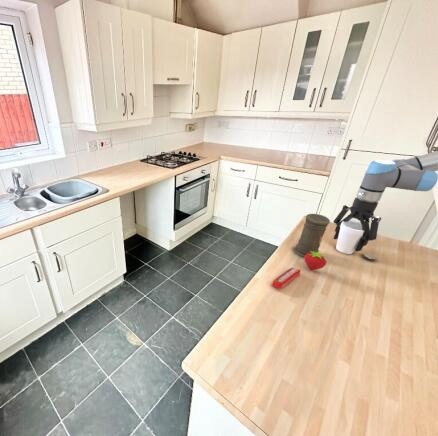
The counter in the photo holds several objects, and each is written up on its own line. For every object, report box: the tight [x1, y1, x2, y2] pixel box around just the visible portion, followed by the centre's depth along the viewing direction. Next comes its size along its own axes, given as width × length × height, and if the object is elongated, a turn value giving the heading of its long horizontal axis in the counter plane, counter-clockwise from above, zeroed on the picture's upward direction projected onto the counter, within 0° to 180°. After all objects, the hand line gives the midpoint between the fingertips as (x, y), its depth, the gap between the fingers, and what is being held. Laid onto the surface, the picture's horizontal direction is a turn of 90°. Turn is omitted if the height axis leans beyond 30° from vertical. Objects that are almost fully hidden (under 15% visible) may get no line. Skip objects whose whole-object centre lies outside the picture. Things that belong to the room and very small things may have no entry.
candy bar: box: [270, 267, 302, 289], centre depth 94 cm, size 16×4×3 cm, turn 124°
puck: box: [362, 253, 377, 262], centre depth 105 cm, size 4×4×1 cm
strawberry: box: [303, 251, 327, 272], centre depth 97 cm, size 6×8×10 cm
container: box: [294, 213, 331, 258], centre depth 105 cm, size 9×9×18 cm
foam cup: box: [335, 219, 364, 255], centre depth 108 cm, size 10×9×13 cm
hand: (346, 244), depth 109 cm, fingers closed on foam cup, 9 cm apart
